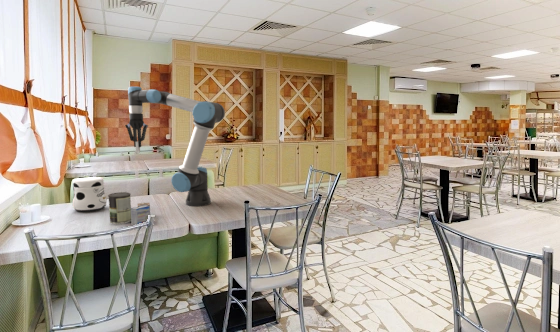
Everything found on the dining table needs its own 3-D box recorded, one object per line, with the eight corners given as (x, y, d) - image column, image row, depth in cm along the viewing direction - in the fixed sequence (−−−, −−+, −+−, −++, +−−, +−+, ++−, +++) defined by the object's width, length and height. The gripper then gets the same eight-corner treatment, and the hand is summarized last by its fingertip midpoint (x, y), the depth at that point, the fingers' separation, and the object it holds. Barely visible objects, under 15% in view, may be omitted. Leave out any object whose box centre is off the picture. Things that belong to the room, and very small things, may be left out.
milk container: (111, 209, 201) (109, 179, 199) (79, 215, 189) (76, 182, 187) (100, 204, 213) (98, 175, 211) (69, 209, 200) (66, 179, 198)
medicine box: (136, 226, 168) (136, 209, 167) (131, 225, 170) (130, 207, 169) (150, 222, 175) (149, 205, 174) (145, 221, 177) (144, 204, 176)
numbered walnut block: (150, 215, 189) (149, 202, 188) (150, 217, 184) (149, 204, 183) (138, 216, 187) (137, 203, 186) (138, 218, 181) (137, 205, 180)
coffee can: (106, 224, 171) (104, 196, 170) (114, 218, 182) (112, 192, 180) (128, 223, 172) (126, 196, 171) (134, 218, 183) (133, 192, 181)
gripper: (149, 113, 210) (151, 151, 213) (127, 113, 209) (129, 152, 212) (144, 112, 202) (146, 153, 205) (122, 112, 202) (124, 153, 205)
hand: (138, 152), depth 209 cm, fingers closed
